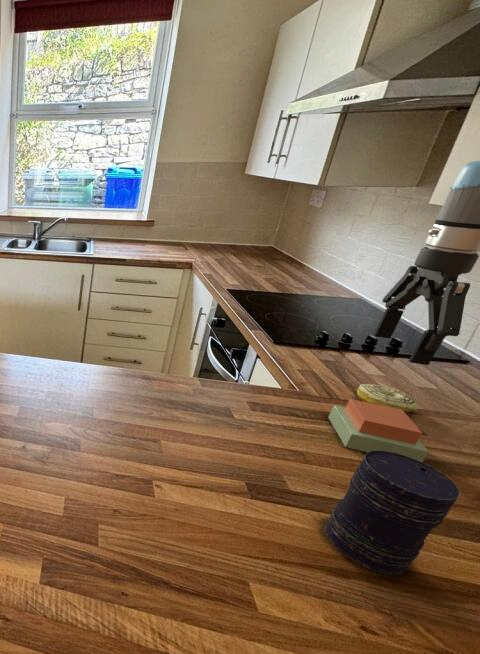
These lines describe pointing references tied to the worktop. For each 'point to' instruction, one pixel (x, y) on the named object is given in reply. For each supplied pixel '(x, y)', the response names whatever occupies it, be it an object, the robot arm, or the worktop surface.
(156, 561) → the worktop surface
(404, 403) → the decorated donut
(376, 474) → the dark blue cylinder
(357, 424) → the stack top
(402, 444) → the stack base
